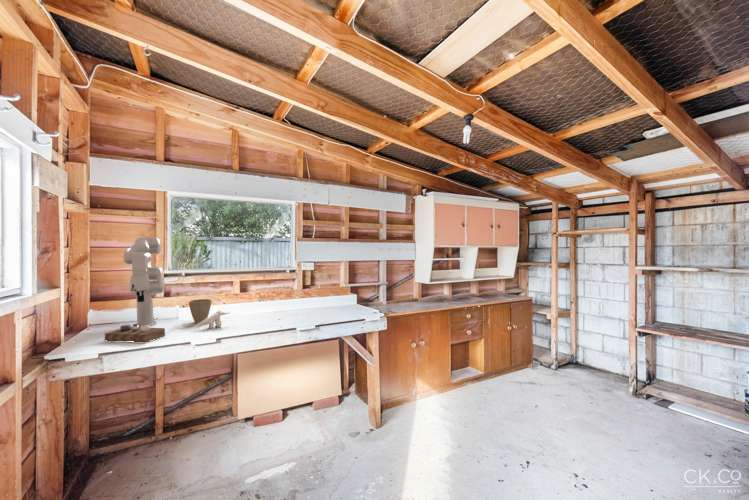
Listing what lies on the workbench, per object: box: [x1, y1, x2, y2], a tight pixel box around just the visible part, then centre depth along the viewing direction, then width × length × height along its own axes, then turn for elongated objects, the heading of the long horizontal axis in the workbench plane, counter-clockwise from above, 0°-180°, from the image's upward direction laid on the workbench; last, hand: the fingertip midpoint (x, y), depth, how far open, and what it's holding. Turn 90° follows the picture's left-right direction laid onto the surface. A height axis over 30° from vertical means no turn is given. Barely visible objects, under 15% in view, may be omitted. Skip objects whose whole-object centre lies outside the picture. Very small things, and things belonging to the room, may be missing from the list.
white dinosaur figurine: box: [193, 309, 231, 329], centre depth 218 cm, size 7×24×11 cm, turn 130°
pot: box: [131, 323, 139, 331], centre depth 194 cm, size 3×3×4 cm
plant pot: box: [188, 298, 212, 324], centre depth 234 cm, size 15×15×16 cm
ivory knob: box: [141, 325, 151, 332], centre depth 193 cm, size 5×5×8 cm
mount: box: [104, 326, 166, 343], centre depth 194 cm, size 28×14×5 cm, turn 83°
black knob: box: [120, 324, 131, 332], centre depth 195 cm, size 5×5×8 cm
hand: (140, 301), depth 196 cm, fingers closed
